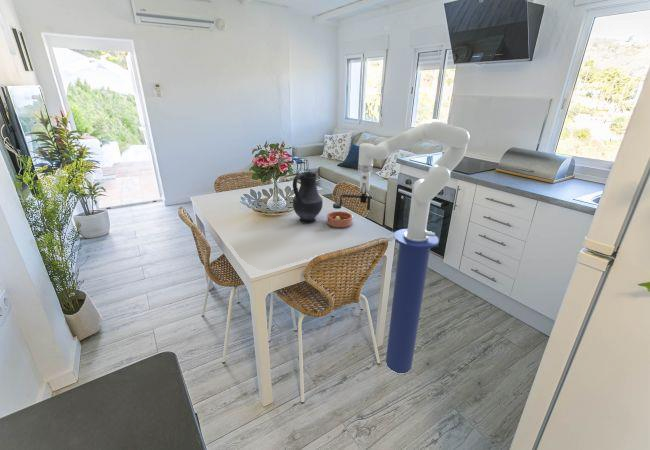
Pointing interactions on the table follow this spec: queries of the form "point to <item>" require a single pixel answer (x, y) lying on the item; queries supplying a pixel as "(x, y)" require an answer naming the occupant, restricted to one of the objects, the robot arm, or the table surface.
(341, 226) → the bowl
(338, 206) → the black lever handle
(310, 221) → the pitcher
